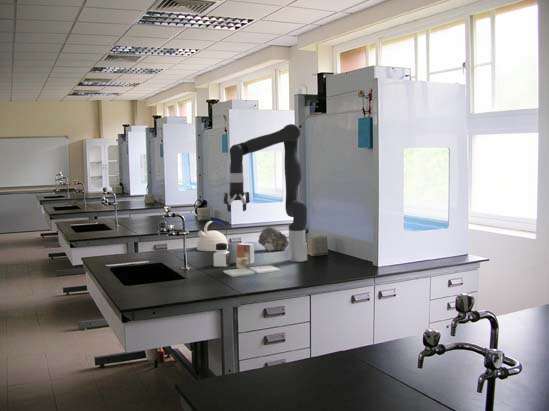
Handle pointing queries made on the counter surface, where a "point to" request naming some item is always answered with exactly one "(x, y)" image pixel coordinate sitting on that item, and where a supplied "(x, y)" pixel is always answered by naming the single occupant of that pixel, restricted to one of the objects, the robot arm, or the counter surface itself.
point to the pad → (264, 269)
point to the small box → (246, 251)
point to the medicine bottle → (221, 255)
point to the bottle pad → (239, 272)
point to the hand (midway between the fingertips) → (236, 211)
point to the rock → (272, 239)
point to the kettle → (210, 238)
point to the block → (242, 263)
